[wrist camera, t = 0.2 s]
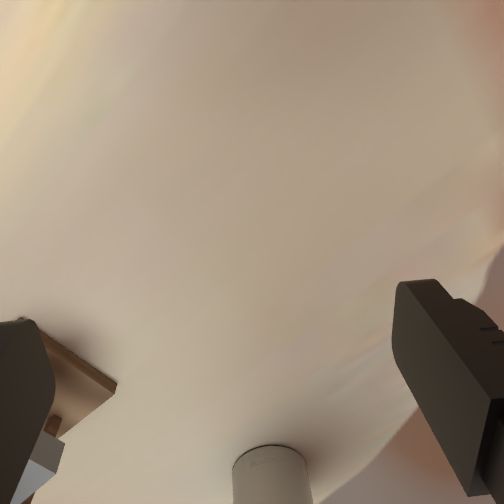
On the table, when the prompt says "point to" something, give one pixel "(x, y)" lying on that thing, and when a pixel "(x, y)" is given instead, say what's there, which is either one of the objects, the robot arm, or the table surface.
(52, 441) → the grey angular piece
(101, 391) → the catapult stand
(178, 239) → the table surface
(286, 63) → the table surface
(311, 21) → the table surface
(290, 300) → the table surface
